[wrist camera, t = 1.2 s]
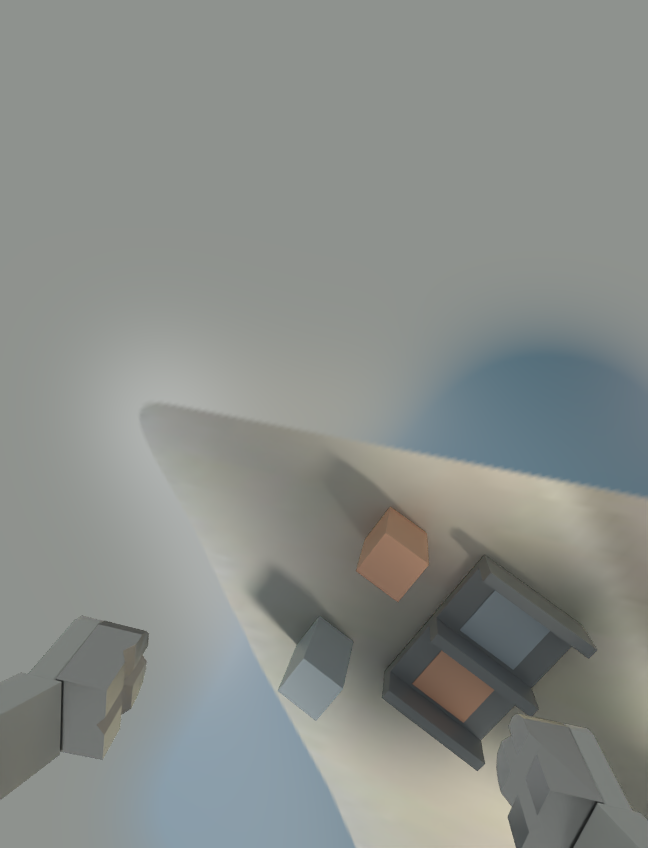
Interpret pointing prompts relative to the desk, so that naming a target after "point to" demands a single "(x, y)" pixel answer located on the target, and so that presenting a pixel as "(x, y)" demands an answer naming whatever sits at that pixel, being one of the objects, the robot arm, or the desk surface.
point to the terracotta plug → (394, 554)
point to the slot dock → (480, 659)
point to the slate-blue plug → (317, 668)
